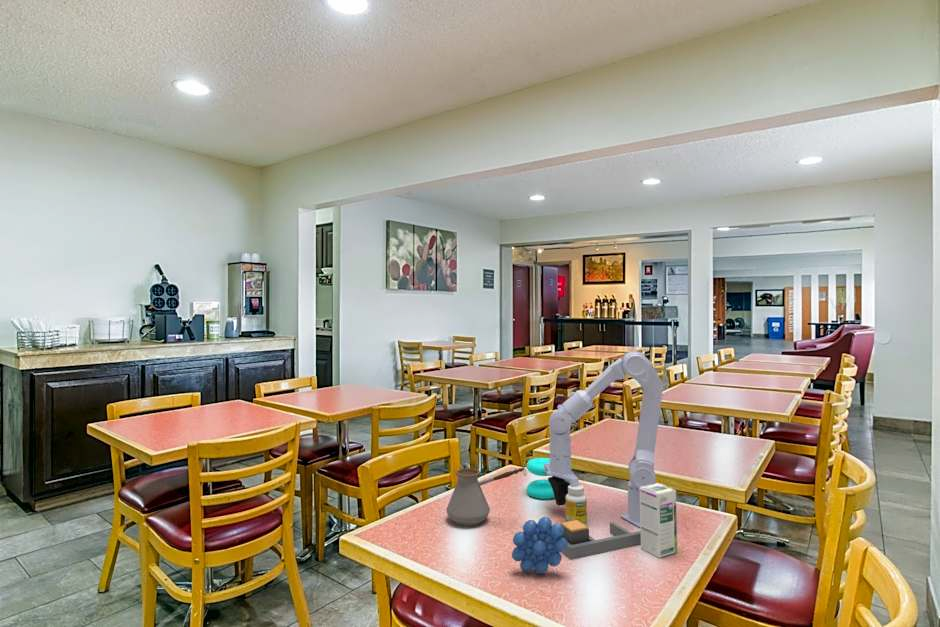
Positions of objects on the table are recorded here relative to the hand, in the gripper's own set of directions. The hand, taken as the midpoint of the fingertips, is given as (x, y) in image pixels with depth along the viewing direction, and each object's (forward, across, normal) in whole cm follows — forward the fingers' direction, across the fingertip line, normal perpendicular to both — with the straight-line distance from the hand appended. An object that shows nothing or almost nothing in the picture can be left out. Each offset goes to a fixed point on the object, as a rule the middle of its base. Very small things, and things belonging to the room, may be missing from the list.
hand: (560, 504), depth 142 cm
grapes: (+3, +26, -21) cm, 33 cm away
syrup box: (+3, +28, +9) cm, 29 cm away
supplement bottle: (+3, +8, 0) cm, 8 cm away
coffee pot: (+3, -2, -21) cm, 21 cm away
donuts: (+3, -14, +3) cm, 15 cm away
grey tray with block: (+2, +20, -2) cm, 20 cm away
